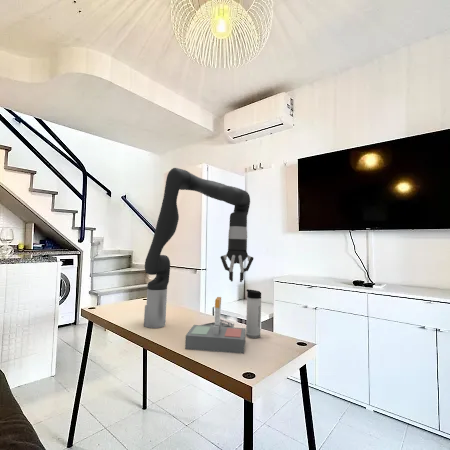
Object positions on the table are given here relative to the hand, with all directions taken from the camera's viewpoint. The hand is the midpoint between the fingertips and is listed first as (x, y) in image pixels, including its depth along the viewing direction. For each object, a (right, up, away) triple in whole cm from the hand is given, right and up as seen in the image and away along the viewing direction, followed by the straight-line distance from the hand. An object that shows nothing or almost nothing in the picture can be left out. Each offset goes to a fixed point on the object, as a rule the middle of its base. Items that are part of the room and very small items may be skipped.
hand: (236, 281), depth 112 cm
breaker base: (-8, -25, -1) cm, 26 cm away
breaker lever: (-8, -18, 0) cm, 20 cm away
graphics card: (-10, -27, +18) cm, 34 cm away
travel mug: (+8, -26, +11) cm, 30 cm away
